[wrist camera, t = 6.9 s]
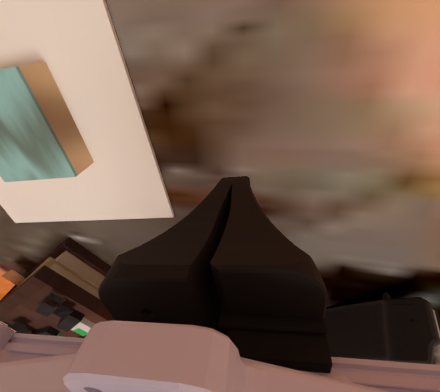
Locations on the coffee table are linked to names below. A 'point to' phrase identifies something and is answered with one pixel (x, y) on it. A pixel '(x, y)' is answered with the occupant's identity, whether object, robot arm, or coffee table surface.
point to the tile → (37, 128)
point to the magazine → (385, 330)
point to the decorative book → (57, 294)
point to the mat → (84, 115)
